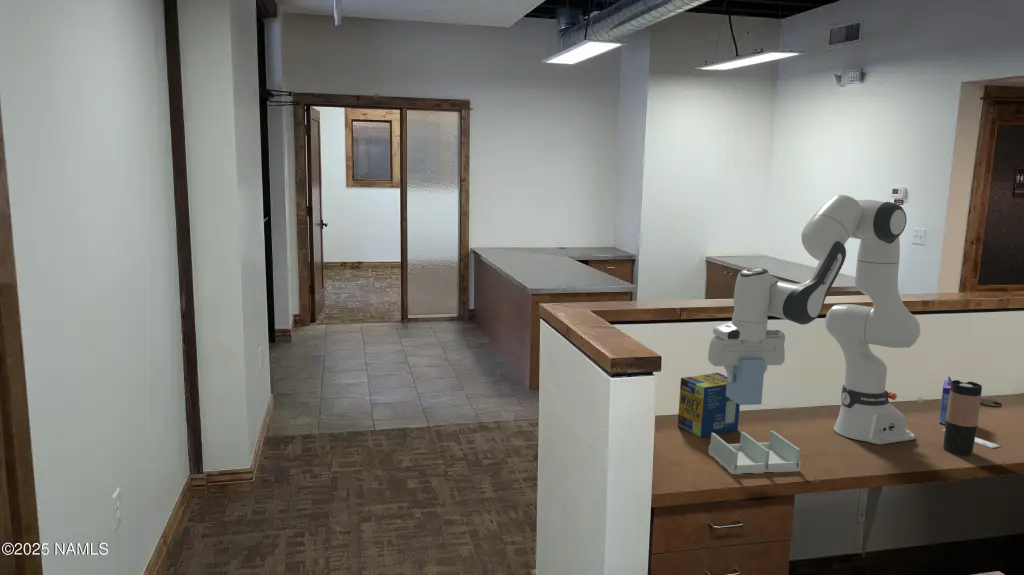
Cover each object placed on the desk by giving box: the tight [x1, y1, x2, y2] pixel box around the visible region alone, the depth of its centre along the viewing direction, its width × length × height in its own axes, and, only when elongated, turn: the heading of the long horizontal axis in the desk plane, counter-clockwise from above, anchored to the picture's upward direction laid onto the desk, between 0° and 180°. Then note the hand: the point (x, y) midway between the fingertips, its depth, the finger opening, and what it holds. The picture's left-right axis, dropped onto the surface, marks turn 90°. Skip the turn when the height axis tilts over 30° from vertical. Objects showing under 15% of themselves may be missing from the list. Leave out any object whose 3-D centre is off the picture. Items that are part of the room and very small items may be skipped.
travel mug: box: [943, 379, 983, 457], centre depth 205 cm, size 8×8×20 cm
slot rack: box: [708, 430, 802, 475], centre depth 194 cm, size 19×14×6 cm
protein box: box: [677, 372, 741, 438], centre depth 218 cm, size 10×15×16 cm
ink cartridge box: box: [939, 375, 953, 425], centre depth 230 cm, size 10×6×14 cm, turn 148°
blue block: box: [726, 358, 765, 406], centre depth 190 cm, size 6×8×12 cm
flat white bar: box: [942, 428, 1001, 450], centre depth 217 cm, size 5×15×1 cm, turn 24°
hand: (744, 381), depth 190 cm, fingers closed on blue block, 6 cm apart
